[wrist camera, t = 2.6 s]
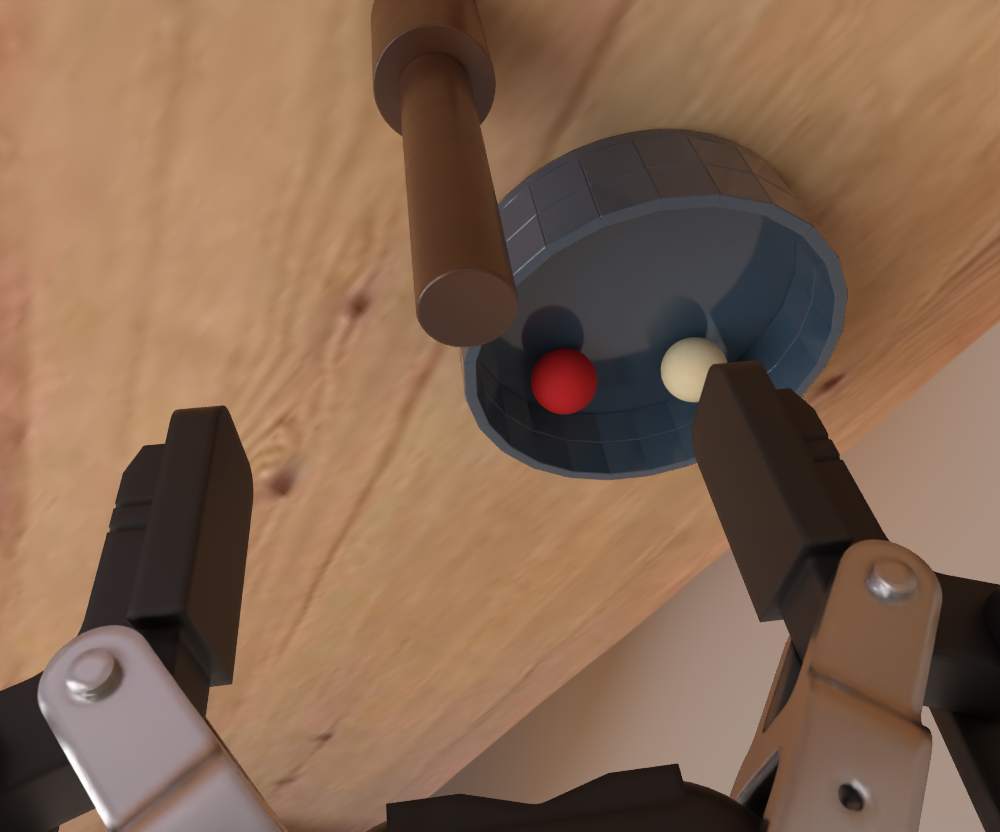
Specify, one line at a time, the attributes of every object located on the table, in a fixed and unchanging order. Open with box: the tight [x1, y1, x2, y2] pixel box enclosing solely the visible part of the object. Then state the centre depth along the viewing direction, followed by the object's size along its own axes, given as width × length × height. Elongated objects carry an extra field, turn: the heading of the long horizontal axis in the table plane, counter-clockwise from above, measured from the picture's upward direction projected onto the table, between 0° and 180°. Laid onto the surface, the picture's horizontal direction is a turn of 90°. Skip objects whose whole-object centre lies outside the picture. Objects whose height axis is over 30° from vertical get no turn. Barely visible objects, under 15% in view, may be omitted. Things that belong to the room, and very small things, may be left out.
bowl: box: [459, 130, 848, 480], centre depth 31 cm, size 15×15×4 cm
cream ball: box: [661, 337, 727, 402], centre depth 34 cm, size 3×3×3 cm
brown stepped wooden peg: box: [371, 0, 519, 347], centre depth 19 cm, size 3×3×14 cm
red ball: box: [531, 348, 597, 414], centre depth 34 cm, size 3×3×3 cm
